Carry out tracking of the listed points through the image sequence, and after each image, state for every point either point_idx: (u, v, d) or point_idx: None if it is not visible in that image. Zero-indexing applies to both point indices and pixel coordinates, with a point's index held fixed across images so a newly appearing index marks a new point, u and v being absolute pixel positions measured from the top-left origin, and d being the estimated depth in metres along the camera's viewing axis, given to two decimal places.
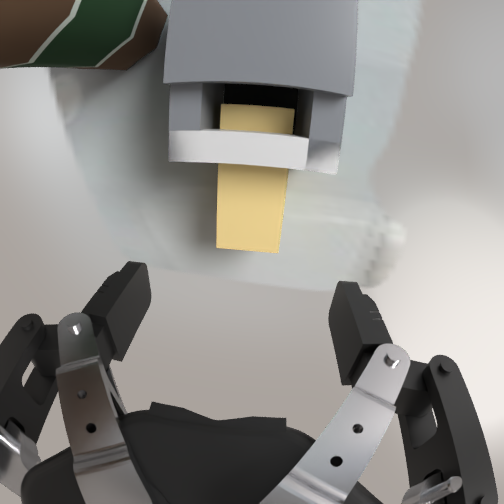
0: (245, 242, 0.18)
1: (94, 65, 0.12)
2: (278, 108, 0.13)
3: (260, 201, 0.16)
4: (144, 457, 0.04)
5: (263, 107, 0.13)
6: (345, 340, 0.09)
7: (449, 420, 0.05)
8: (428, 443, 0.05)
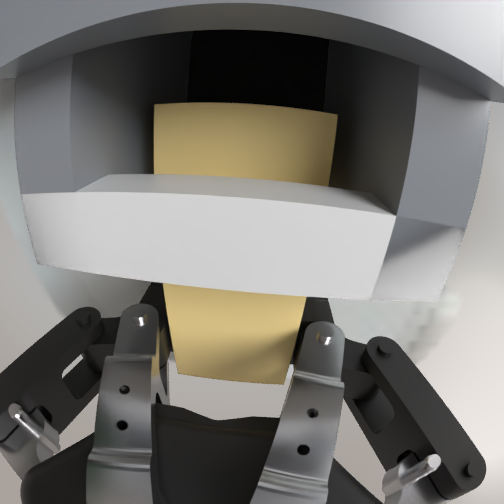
0: (226, 371, 0.09)
1: None
2: (297, 111, 0.05)
3: (251, 317, 0.08)
4: None
5: (258, 108, 0.05)
6: None
7: (405, 402, 0.05)
8: (389, 427, 0.06)
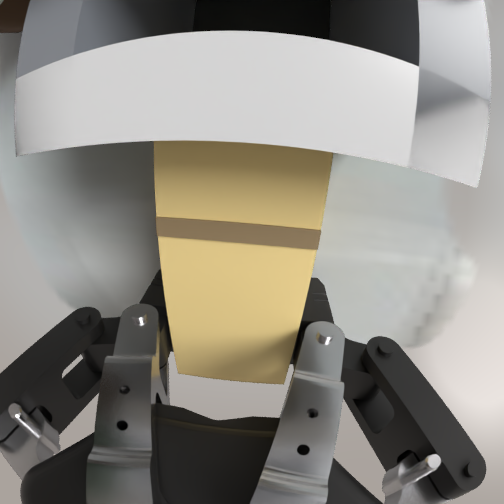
0: (226, 371, 0.09)
1: None
2: None
3: (251, 316, 0.08)
4: None
5: None
6: None
7: (405, 403, 0.05)
8: (389, 427, 0.06)
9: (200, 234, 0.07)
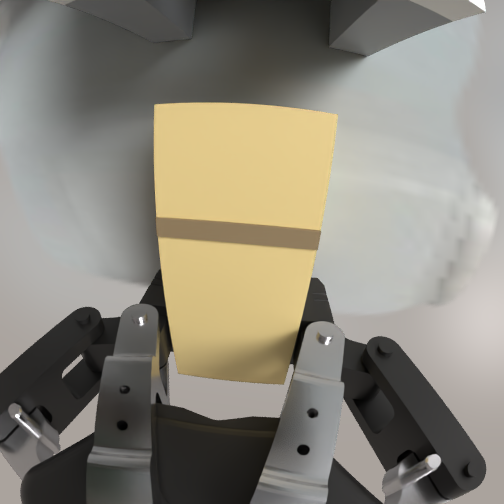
0: (226, 371, 0.09)
1: None
2: (297, 111, 0.05)
3: (251, 316, 0.08)
4: None
5: (258, 108, 0.05)
6: None
7: (405, 402, 0.05)
8: (389, 427, 0.06)
9: (201, 234, 0.07)
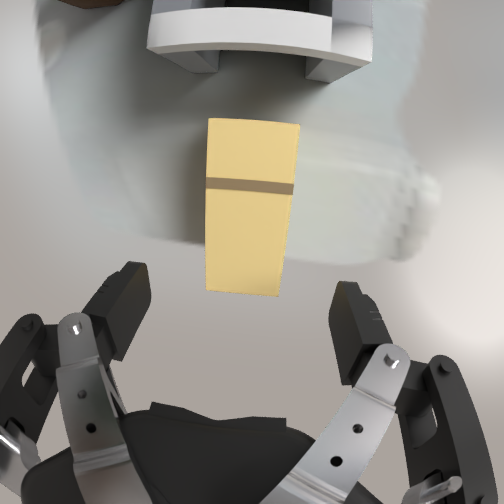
0: (239, 284, 0.15)
1: None
2: (279, 123, 0.11)
3: (256, 238, 0.14)
4: (144, 457, 0.04)
5: (261, 122, 0.11)
6: (345, 340, 0.09)
7: (449, 420, 0.05)
8: (428, 443, 0.05)
9: (230, 186, 0.12)
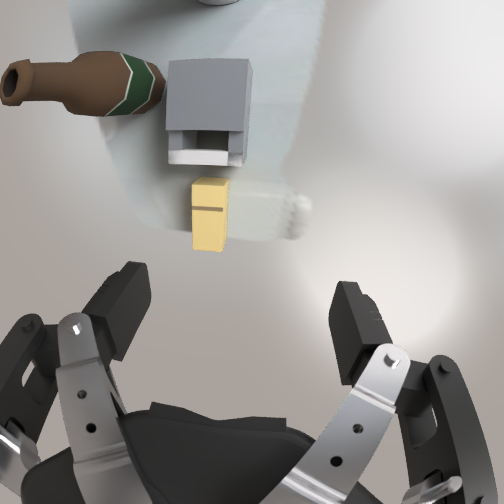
0: (206, 247, 0.37)
1: (129, 113, 0.28)
2: (216, 186, 0.33)
3: (211, 228, 0.35)
4: (144, 457, 0.04)
5: (210, 186, 0.33)
6: (345, 340, 0.09)
7: (449, 420, 0.05)
8: (428, 443, 0.05)
9: (200, 209, 0.34)
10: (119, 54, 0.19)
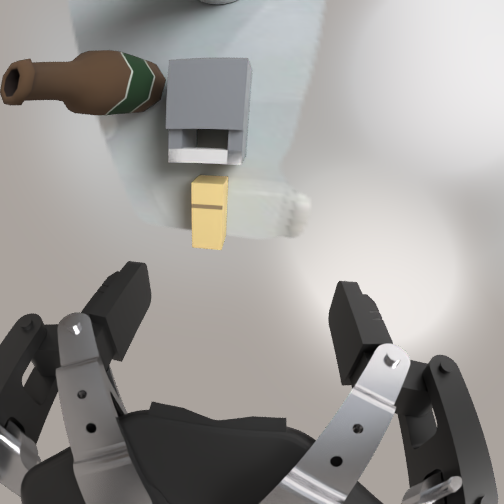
0: (205, 244, 0.37)
1: (129, 112, 0.28)
2: (216, 184, 0.33)
3: (210, 226, 0.35)
4: (144, 457, 0.04)
5: (209, 184, 0.33)
6: (345, 339, 0.09)
7: (449, 420, 0.05)
8: (428, 443, 0.05)
9: (200, 207, 0.34)
10: (119, 53, 0.20)
